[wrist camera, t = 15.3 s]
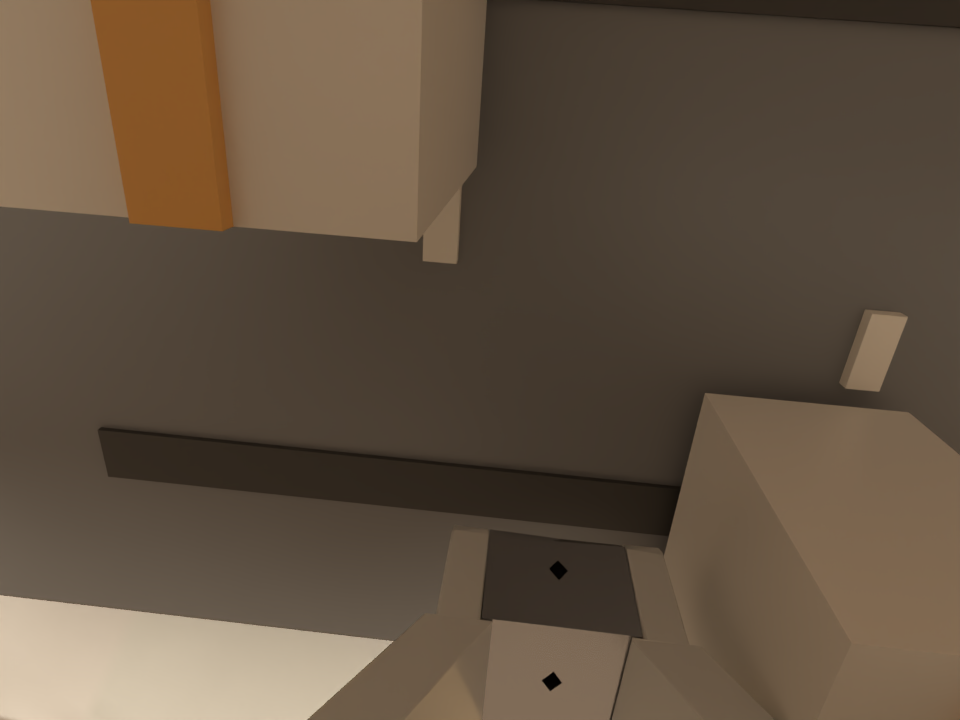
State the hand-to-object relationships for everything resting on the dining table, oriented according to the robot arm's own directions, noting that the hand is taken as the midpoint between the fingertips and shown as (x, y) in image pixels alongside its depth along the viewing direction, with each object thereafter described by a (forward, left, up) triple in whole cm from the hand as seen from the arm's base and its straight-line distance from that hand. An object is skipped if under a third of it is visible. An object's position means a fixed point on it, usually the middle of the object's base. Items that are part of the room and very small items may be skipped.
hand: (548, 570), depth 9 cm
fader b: (-4, 0, -2) cm, 4 cm away
